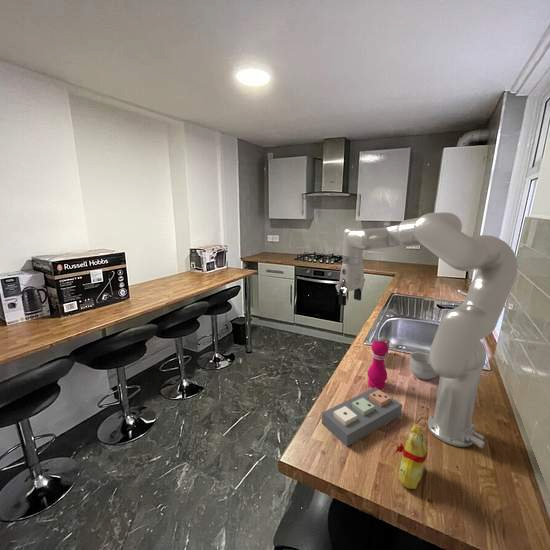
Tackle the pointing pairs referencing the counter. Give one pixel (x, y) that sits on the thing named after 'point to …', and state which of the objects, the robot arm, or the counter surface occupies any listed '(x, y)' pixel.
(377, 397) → the tile three
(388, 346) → the tin
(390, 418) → the console
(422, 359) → the teacup
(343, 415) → the tile one
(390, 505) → the counter surface
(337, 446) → the counter surface
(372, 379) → the pink bowling pin
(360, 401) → the tile two
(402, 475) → the chocolate bunny
